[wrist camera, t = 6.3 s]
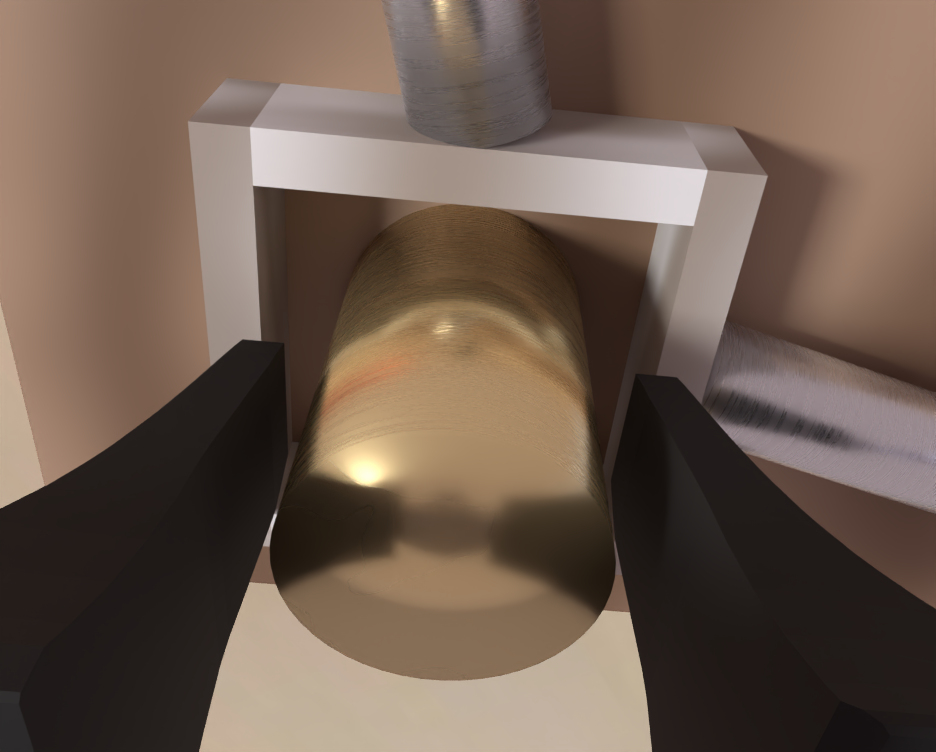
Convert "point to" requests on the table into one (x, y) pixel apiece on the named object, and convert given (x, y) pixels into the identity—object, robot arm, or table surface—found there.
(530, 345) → the brass cylinder
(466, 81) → the shaft
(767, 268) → the plate
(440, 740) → the table surface
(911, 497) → the shaft
